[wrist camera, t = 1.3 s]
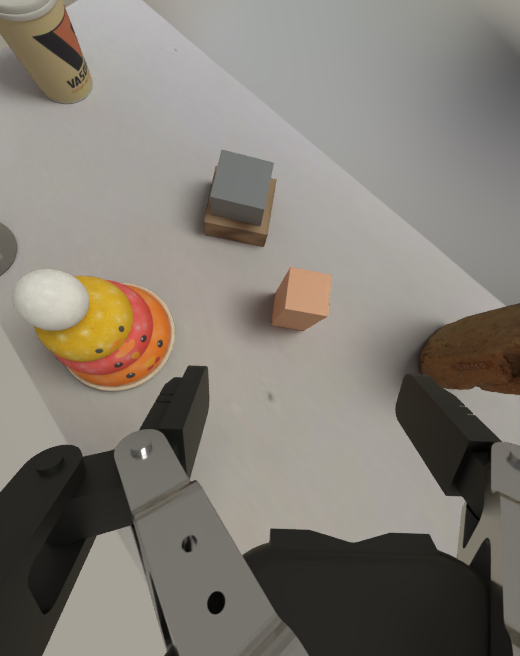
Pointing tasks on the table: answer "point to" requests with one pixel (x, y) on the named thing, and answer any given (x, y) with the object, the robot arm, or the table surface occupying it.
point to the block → (477, 352)
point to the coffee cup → (46, 47)
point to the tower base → (240, 223)
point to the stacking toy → (98, 326)
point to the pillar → (301, 299)
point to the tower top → (240, 187)
